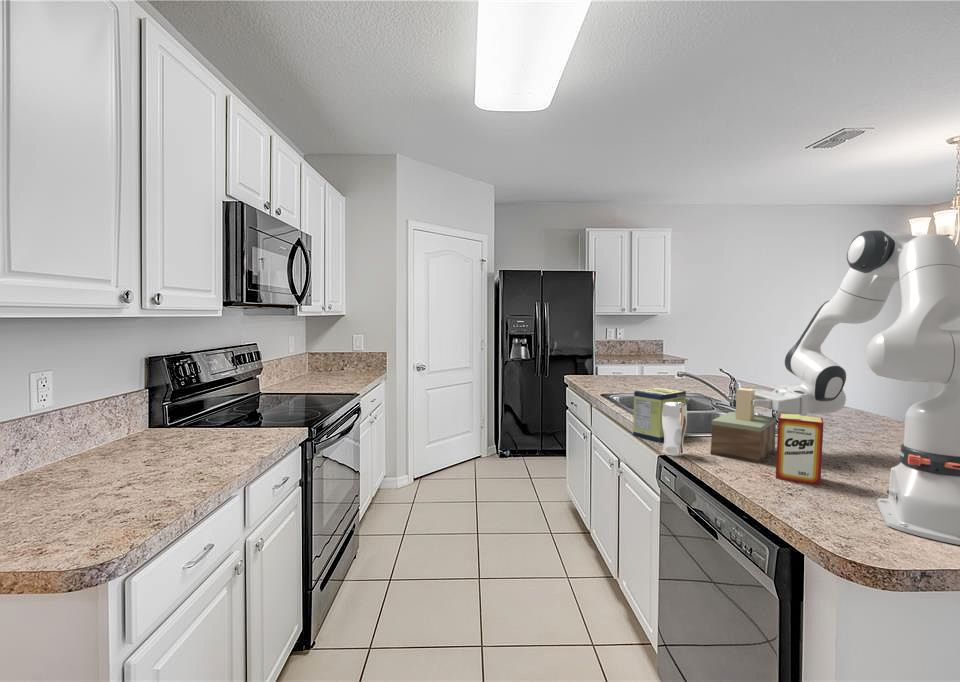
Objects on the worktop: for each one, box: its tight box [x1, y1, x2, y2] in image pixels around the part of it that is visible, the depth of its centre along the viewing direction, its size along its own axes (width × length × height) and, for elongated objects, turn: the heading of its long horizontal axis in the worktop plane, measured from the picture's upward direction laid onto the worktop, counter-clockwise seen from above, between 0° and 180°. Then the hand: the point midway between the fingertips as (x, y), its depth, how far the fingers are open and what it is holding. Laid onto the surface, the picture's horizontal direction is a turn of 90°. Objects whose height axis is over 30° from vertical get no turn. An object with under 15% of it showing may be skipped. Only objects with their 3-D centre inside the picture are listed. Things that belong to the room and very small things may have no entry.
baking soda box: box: [775, 413, 825, 486], centre depth 128 cm, size 10×6×16 cm
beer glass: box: [662, 402, 688, 457], centre depth 150 cm, size 7×7×15 cm
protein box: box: [632, 386, 687, 443], centre depth 171 cm, size 10×16×16 cm
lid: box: [711, 387, 777, 432], centre depth 151 cm, size 18×13×11 cm
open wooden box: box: [710, 421, 777, 464], centre depth 152 cm, size 18×13×9 cm
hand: (742, 399), depth 151 cm, fingers open, 8 cm apart
